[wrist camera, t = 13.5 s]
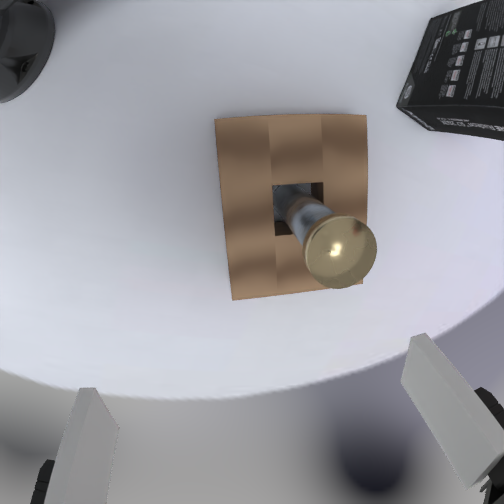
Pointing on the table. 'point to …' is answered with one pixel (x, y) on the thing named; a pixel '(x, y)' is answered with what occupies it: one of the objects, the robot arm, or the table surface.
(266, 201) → the hole block
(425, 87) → the graphics card box
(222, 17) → the table surface
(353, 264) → the pin
